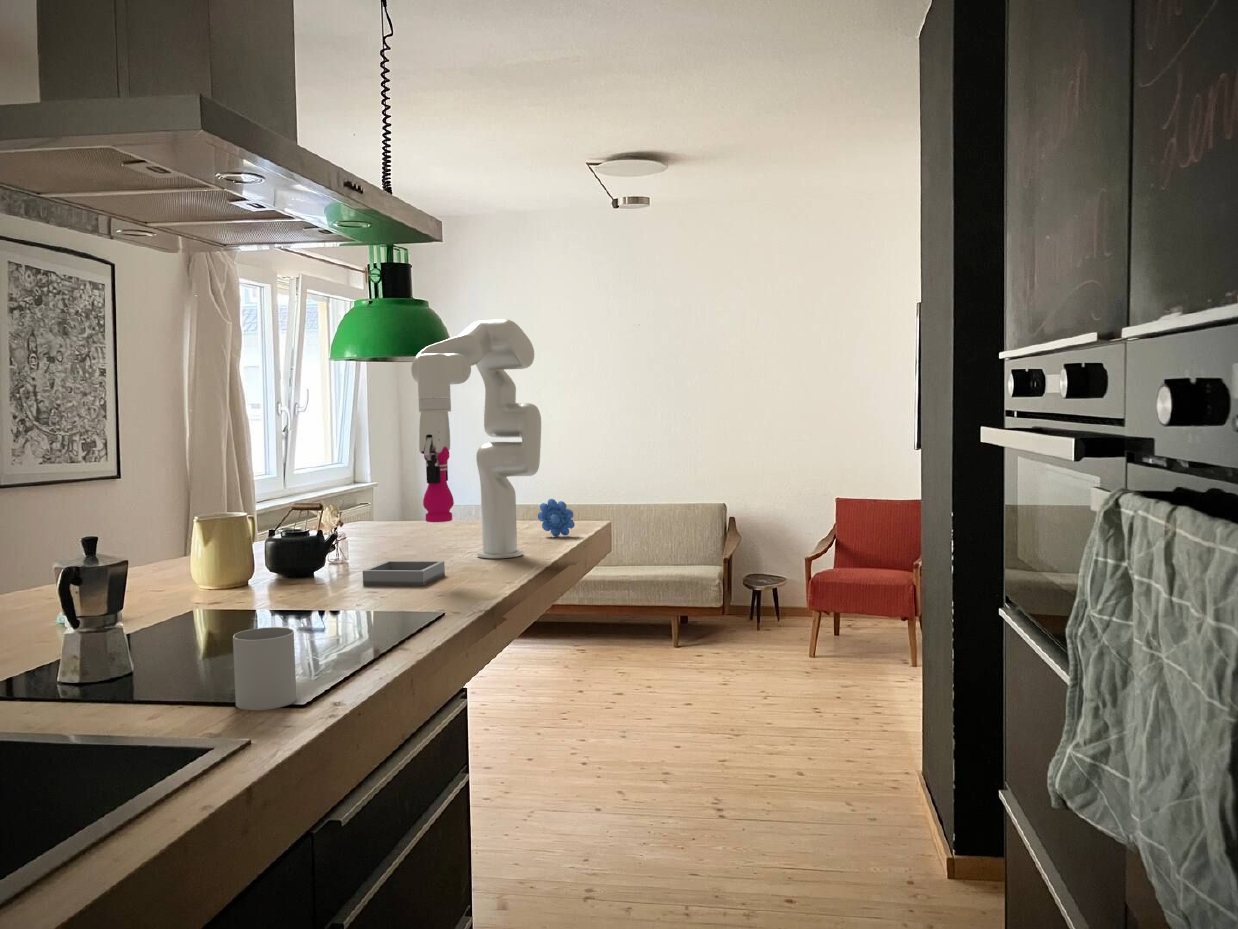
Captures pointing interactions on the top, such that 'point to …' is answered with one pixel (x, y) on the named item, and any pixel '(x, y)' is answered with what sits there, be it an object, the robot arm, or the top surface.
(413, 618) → the top surface
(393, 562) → the tray
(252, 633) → the cup
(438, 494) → the pepper mill
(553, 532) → the blue toy flower
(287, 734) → the top surface
